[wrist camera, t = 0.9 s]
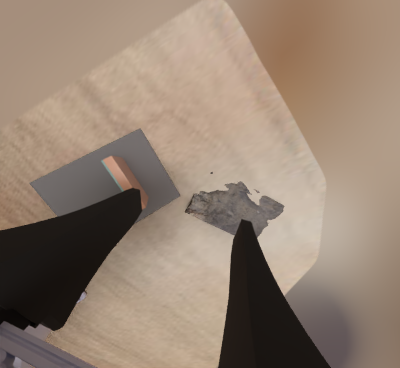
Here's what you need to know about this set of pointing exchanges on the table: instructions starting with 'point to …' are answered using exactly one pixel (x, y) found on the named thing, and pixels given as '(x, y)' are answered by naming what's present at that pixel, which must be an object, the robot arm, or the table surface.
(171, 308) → the table surface
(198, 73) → the table surface
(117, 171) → the tile
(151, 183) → the mat
